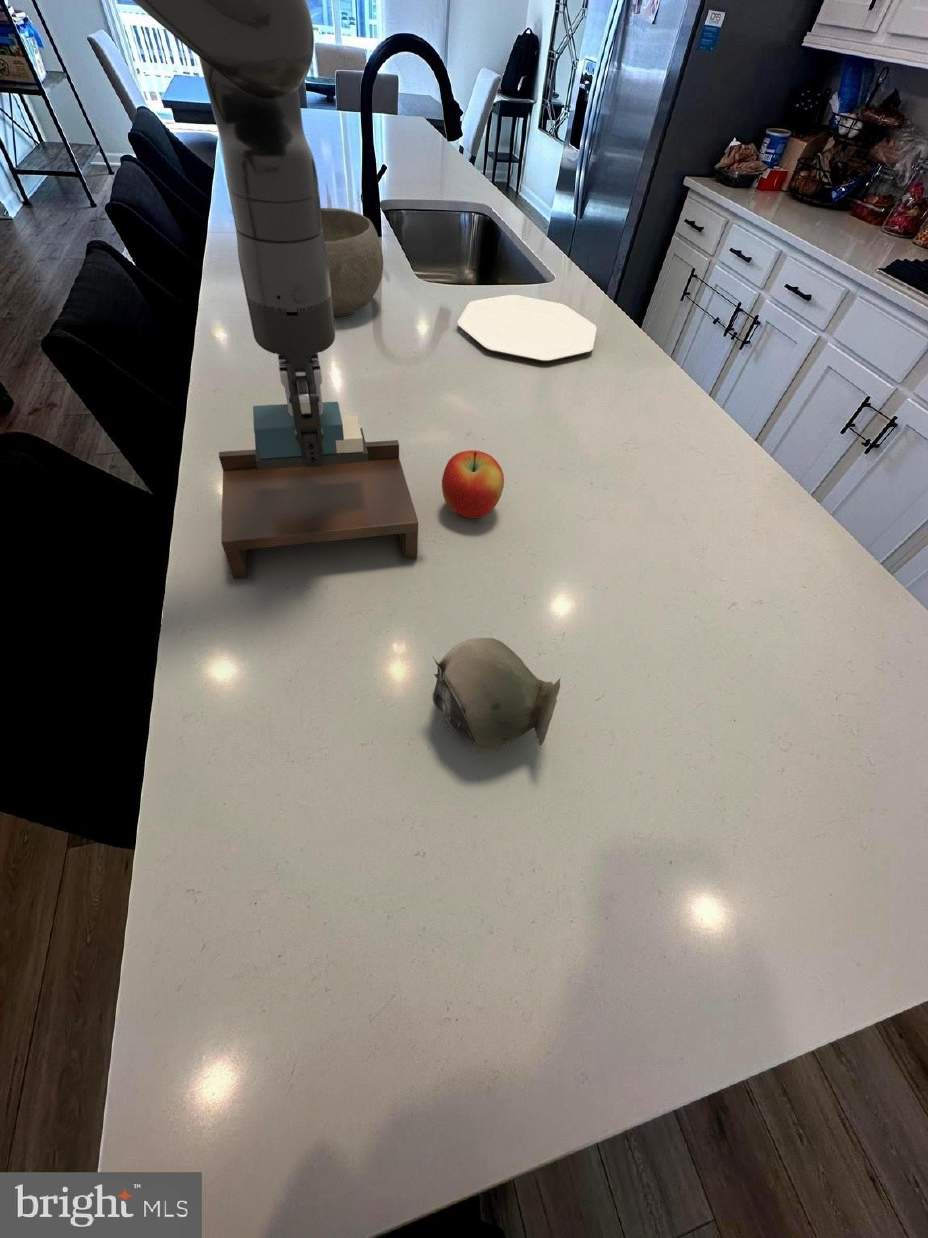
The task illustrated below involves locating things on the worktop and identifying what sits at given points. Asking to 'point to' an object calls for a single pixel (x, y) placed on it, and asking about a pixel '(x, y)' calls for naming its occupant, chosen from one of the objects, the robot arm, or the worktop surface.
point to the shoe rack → (314, 503)
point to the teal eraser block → (282, 447)
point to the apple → (472, 483)
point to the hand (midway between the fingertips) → (311, 449)
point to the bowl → (351, 259)
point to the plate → (528, 328)
